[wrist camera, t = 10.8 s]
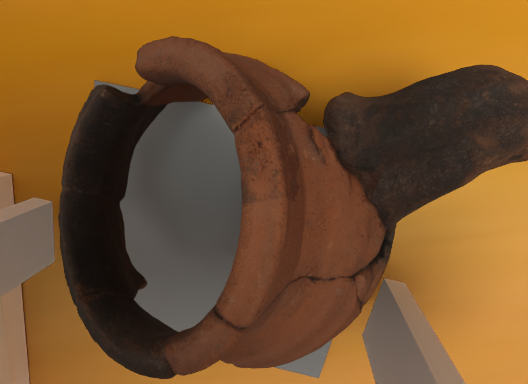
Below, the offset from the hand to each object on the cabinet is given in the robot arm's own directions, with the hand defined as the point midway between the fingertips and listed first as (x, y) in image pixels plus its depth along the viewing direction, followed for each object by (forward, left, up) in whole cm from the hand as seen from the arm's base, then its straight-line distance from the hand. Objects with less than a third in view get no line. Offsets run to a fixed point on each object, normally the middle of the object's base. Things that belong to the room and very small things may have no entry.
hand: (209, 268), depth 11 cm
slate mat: (0, 0, -2) cm, 2 cm away
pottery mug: (+4, +3, -3) cm, 6 cm away
